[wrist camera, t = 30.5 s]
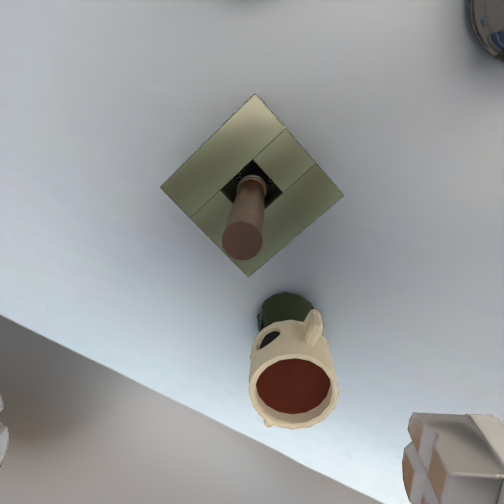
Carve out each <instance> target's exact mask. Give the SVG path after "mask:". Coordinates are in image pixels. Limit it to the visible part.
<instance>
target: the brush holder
mask: <svg viewBox="0 0 504 504" xmlns="http://www.w3.org/2000/svg"><path fill="white" fill-rule="evenodd" d="M252 160H254V161H255V162H256V164H257V165H258V166H259V167H260V168H261V169H262V170H263V171H264V172H265V173H266V175H267V176H268V177H269V178H270V179H271V180H272V181H273V182H272V183H271V184H270V185H269V186H268V187H267V194H266V197H265V198H264V222H263V244H262V248H261V250H260V252H259V253H258V254H257V255H256V256H255V257H253V258H252V259H249V260H244V261H241V260H236V259H233V258H231V257H230V256H229V255H228V254H227V253H226V252H225V251H224V249H223V246H222V234H223V232H224V229H225V226H226V223H227V220H228V218H229V215H230V212H231V209H232V206H233V204H234V201H235V198H236V195H237V185H238V182H237V181H236V180H235V179H234V178H233V177H234V176H236V175H237V174H238V173H239V172H240V171H241V170H242V169H243V168H244V167H245V166H246V165H247V164H248V163H249V162H250V161H252ZM160 188H161V189H162V190H163V191H164V192H165V193H166V194H167V195H168V196H169V197H170V198H171V199H172V200H173V201H174V202H175V203H176V204H177V205H178V206H179V208H180V209H181V210H182V211H183V212H184V213H185V214H186V215H187V216H188V217H189V218H191V220H192V221H193V222H194V223H195V224H196V225H197V226H198V227H199V228H200V229H201V230H202V231H203V232H204V233H205V234H206V235H207V236H208V237H209V238H210V239H211V240H212V241H213V242H214V243H215V244H216V245H217V246H218V247H219V248H221V250H222V251H223V252H224V253H225V254H226V255H227V256H228V257H229V258H230V259H231V260H232V261H233V262H234V263H235V264H236V265H237V266H238V267H239V268H240V269H241V270H242V271H243V272H244V273H245V274H246V276H247V277H249V276H250V275H252V274H253V273H254V272H255V271H256V270H257V269H259V268H260V267H261V266H262V265H263V264H264V263H266V262H267V261H268V260H269V259H270V258H271V257H273V256H274V255H275V254H276V253H277V252H278V251H280V250H281V249H282V248H283V247H284V246H285V245H287V244H288V243H289V242H290V241H291V240H292V239H294V238H295V237H296V236H297V235H298V234H300V233H301V232H302V231H303V230H304V229H305V228H307V227H308V226H309V225H310V224H311V223H312V222H314V221H315V220H316V219H317V218H318V217H319V216H321V215H322V214H323V213H324V212H325V211H326V210H328V209H329V208H330V207H331V206H332V205H333V204H335V203H336V202H337V201H338V200H339V199H340V198H342V197H343V196H344V194H343V193H342V192H341V191H340V190H339V189H338V188H337V186H336V185H335V184H334V183H333V182H332V181H331V180H330V178H329V177H328V176H327V175H326V174H325V173H324V172H323V170H322V169H321V168H320V167H319V166H318V165H317V163H316V162H315V161H314V160H313V159H312V158H311V157H310V155H309V154H308V153H307V152H306V151H305V150H304V149H303V147H302V146H301V145H300V144H299V143H298V142H297V140H296V139H295V138H294V137H293V136H292V135H291V134H290V132H289V131H288V130H287V129H286V128H285V127H284V126H283V124H282V123H281V122H280V121H279V120H278V119H277V117H276V116H275V115H274V114H273V113H272V112H271V111H270V109H269V108H268V107H267V106H266V105H265V104H264V103H263V101H262V100H261V99H260V98H259V97H258V96H257V95H256V94H254V95H253V96H252V97H251V98H250V99H249V100H248V101H247V102H246V103H245V104H244V105H243V106H242V107H241V108H240V109H239V110H238V111H236V112H235V113H234V114H233V115H232V116H231V117H230V118H229V119H228V120H227V121H226V122H225V123H224V124H223V125H222V126H221V127H220V128H219V129H218V130H217V131H216V132H215V133H214V134H213V135H212V136H211V137H210V138H209V139H208V140H207V141H206V142H205V143H204V144H203V145H202V146H201V147H200V148H199V149H198V150H197V151H196V152H195V153H194V154H193V155H192V156H191V157H190V158H189V159H188V160H187V161H186V162H185V163H184V164H183V165H182V166H181V167H180V168H179V169H178V170H177V171H176V172H175V173H174V174H172V175H171V176H170V177H169V178H168V179H167V180H166V181H165V182H164V183H163V184H162V185H161V186H160Z"/></svg>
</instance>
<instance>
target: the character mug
mask: <svg viewBox="0 0 504 504" xmlns="http://www.w3.org/2000/svg"><path fill="white" fill-rule="evenodd" d="M257 320H258V329H259V333H258V335H257V336H256V338H255V340H254V342H253V345H252V350H251V356H250V359H251V365H250V374H249V395H250V398H251V402H252V405H253V407H254V408H255V410H256V411H257V412H258V413H259V415H260V416H261V417H262V418H263V419H264V424H265V425H266V426H267V427H272V426H273V425H275V426H277V427H282V428H288V429H299V428H306V427H310V426H312V425H314V424H316V423H318V422H320V421H322V420H324V419H325V418H326V417H327V416H328V415H329V414H330V412H331V411H332V410H333V409H334V408H335V405H336V401H337V398H338V395H339V391H338V384H337V378H336V373H335V369H334V365H333V361H332V357H331V354H330V350H329V346H328V342H327V341H326V340H325V338H324V337H323V335H322V334H321V333H322V331H323V322H322V318H321V314H320V312H319V311H318V310H316V309H314V308H313V307H312V305H311V303H309V302H308V301H306V300H305V299H304V298H302V297H301V296H298V295H294V294H290V293H282V294H278V295H274V296H272V297H271V298H269V299H268V300H267V301H265V302H264V303H263V304H262V324H261V325H260V320H259V314H258V315H257Z"/></svg>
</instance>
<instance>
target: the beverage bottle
mask: <svg viewBox="0 0 504 504" xmlns="http://www.w3.org/2000/svg"><path fill="white" fill-rule="evenodd" d="M469 11H470V20H471V24H472V28H473V31H474V34H475V36H476V37H477V39H478V41H479V43H480V44H481V45H482V46H483V48H484V49H485V50H486V51H487V52H488V53H489V54H491V55H492V56H494V57H495V58H497V59H499V60H502V61H503V62H504V0H470V6H469Z"/></svg>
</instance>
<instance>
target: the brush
mask: <svg viewBox="0 0 504 504" xmlns="http://www.w3.org/2000/svg"><path fill="white" fill-rule="evenodd" d="M266 194H267V175H266V173H265V172H264V171H263V170H262V169H261V168H260V167H259V166H258V165H257V164H256V163H250V164H248V165H247V166H246V167H245V168H244V170H243V172H242V175H241V177H240V180H239V182H238V185H237V195H236V198H235V201H234V204H233V206H232V209H231V212H230V215H229V218H228V220H227V223H226V226H225V229H224V232H223V234H222V246H223V249H224V251H225V252H226V253H227V254H228V255H229V256H230V257H231V258H233V259H236V260H241V261H244V260H249V259H252V258H253V257H255V256H256V255H257V254H258V253H259V252H260V250H261V248H262V244H263V222H264V198H265V197H266Z"/></svg>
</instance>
